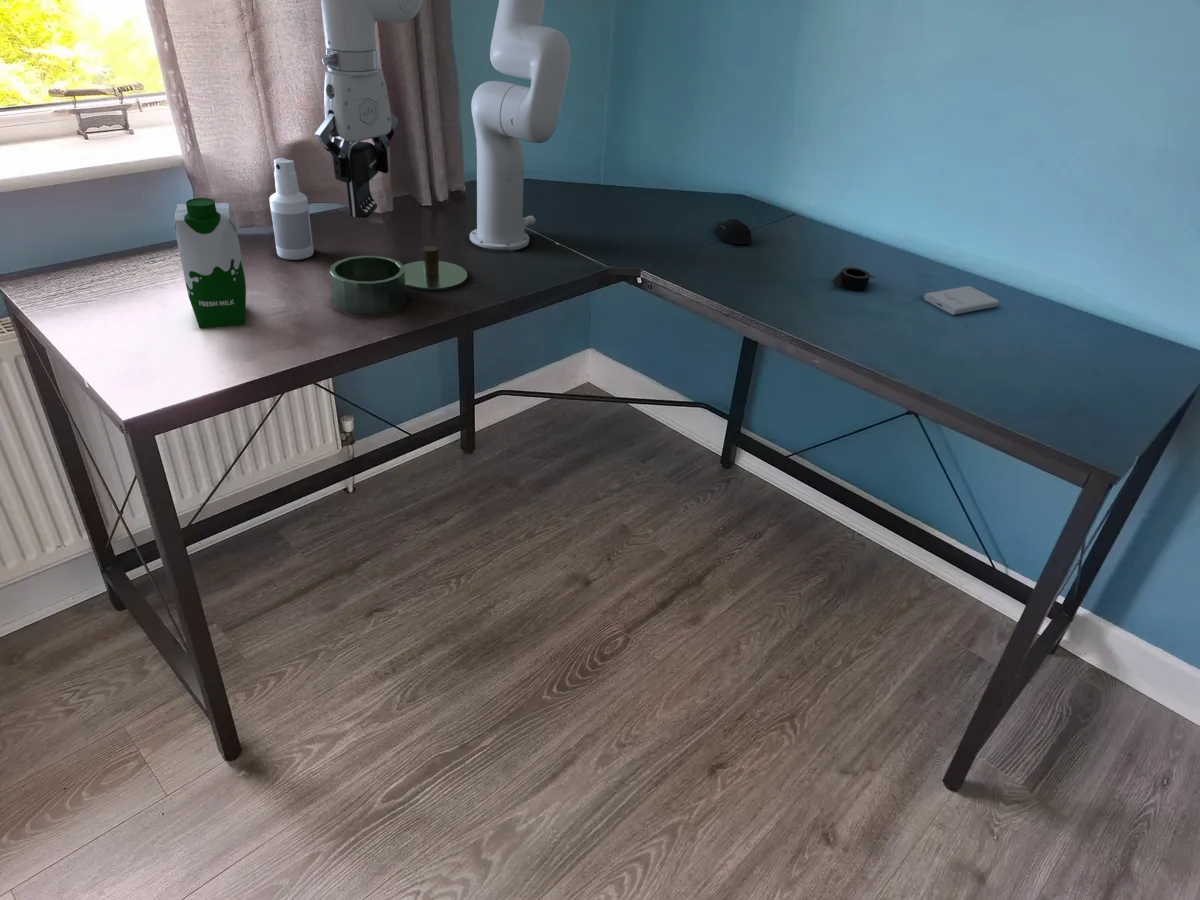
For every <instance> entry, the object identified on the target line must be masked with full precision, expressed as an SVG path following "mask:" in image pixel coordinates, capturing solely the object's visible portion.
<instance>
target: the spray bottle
mask: <svg viewBox="0 0 1200 900" xmlns="http://www.w3.org/2000/svg"><path fill="white" fill-rule="evenodd" d="M273 165H274V172H273V174H274V175H273V176H274V186H275V192H274V193H272V194H271V195H270V197H269V199H268V200H269V206H270V213H271V214H270V215H271V220H272V221H271V222H272V227H273V228H272V229H273V235H274V241H275V248H276V254H277V256H278V257H279V258H281V259H284V260H291V261H292V260H293V261H296V260H297V261H298V260H304V259H308V258H311V257H312V256H313V254H314V251H315V250H314V241H313V233H312V225H311V224H312V223H311V216H310V208H309V200H308V199H309V198H308V196H307V195H306V194H304V193H303V192H301V191H300V188H299V182H298V176H297V171H296V168H295V162H294V159H290V160H289V159H287V158H285V157H277V158H274V159H273Z"/></svg>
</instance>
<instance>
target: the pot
mask: <svg viewBox="0 0 1200 900" xmlns="http://www.w3.org/2000/svg"><path fill="white" fill-rule="evenodd" d="M403 265H404V264H402V263H401V261H399V260H396V259H393V258H391V257H387V256H386V257H385V256H381V255H358V256H350V257H347V258H343V259H340V260H337V261H336V262H334V263H333V264H332V265H331V266H330V270H329V278H330V286H331V297H332V303H333V304H334V306H335V307H336V309H339V310H338V312H340V313H342V314H344V315H346V316H348V315H349V314H354V315H359V316H360V315H361V316H378V315H382V314H383V315H384V314H389V313H393V312H394V311H397V310H400V309H402V307H403V306H404V305H405V304H407V287H406V282H405V267H404V266H403ZM347 313H348V314H347Z"/></svg>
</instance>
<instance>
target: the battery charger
mask: <svg viewBox="0 0 1200 900" xmlns="http://www.w3.org/2000/svg"><path fill="white" fill-rule="evenodd" d="M346 157H347V158H349V160H350V170H351V182H350V183H345V184H346V194H347V202H348V203H347V204H348V213H349V216H350V217H351V218H353V219H354V218H355V219H356V218H361V219H362V218H364V219H365V218H369V217H371V216H372V214H373V213H374V212H375V211H376V210H377V208H378V203H377V202H376V200H375V199H374V198H373V195H372V193H371V187H370V181H371V180H372V179H373V178H374V177H375V176H376V175H378V173H379V170H378V161H377V153H376V149H375V146H374V143H371V142H368V141H357V142H350V144H349V147H348V151H347V154H346Z"/></svg>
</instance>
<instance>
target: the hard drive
mask: <svg viewBox="0 0 1200 900" xmlns="http://www.w3.org/2000/svg"><path fill="white" fill-rule="evenodd" d="M923 300H924V301H925V302H927V303H929V304H931V305H932V306H934V307H937V308H938V309H941V310H942V311H944V312H946V313H948V314H950V315H952V316H955V315H961V314H967V313H972V312H976V311H982V310H988V309H993V308H997V307H998V305H999V303H1000V301H999V300H998V299H997V298H995V297H993V296H991V295H989V294H986V293H985V292H983V291H980V290H979V289H976V288H974V287H973V286H971V285H966V286H960V287H954V288H949V289H948V288H947V289H943V290H936V291H932V292H927V293H926V292H925V293H924V296H923Z"/></svg>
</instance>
